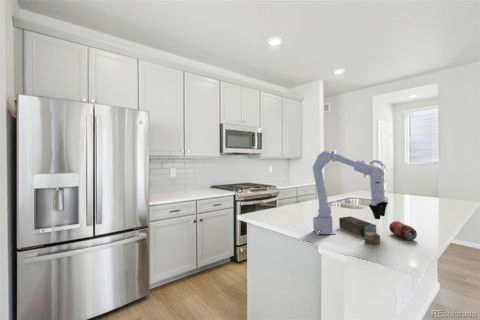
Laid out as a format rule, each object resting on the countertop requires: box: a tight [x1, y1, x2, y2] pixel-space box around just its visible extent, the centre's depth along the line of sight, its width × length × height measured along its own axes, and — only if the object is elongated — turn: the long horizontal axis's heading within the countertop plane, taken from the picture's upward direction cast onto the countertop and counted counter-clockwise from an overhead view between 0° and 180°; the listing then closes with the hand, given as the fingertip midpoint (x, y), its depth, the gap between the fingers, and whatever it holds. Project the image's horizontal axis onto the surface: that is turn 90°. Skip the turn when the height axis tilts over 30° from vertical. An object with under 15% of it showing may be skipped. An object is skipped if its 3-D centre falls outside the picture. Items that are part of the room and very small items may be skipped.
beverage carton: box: [338, 215, 377, 238], centre depth 127 cm, size 8×19×7 cm, turn 15°
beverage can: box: [388, 220, 418, 241], centre depth 116 cm, size 7×12×7 cm, turn 177°
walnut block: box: [364, 232, 381, 246], centre depth 109 cm, size 4×4×4 cm
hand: (379, 217), depth 118 cm, fingers open, 7 cm apart
